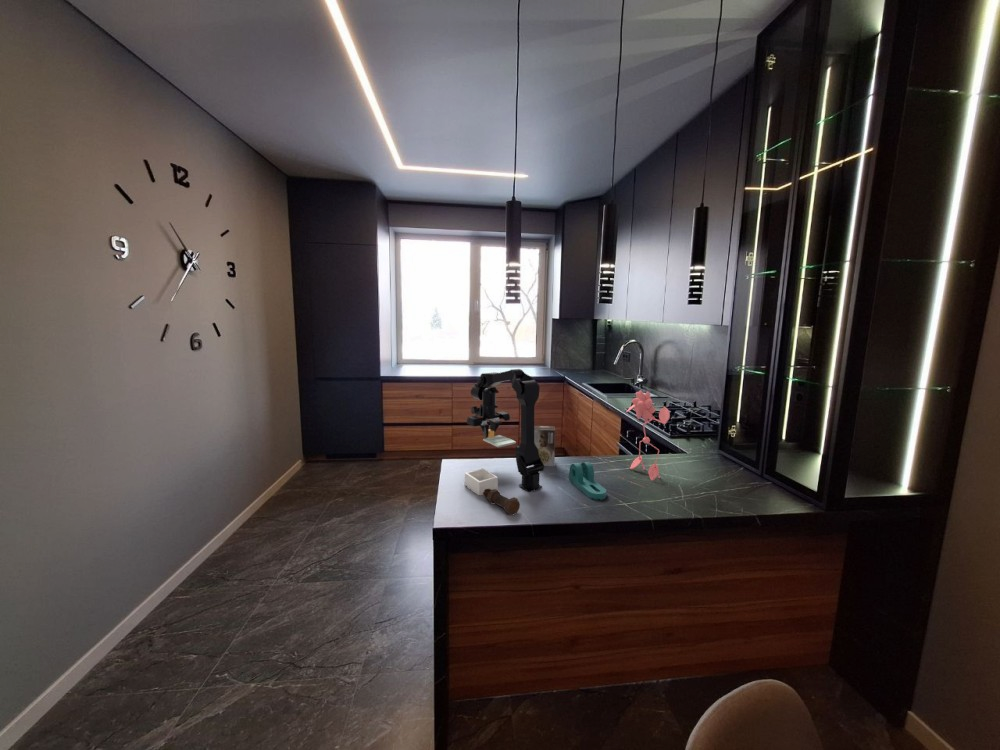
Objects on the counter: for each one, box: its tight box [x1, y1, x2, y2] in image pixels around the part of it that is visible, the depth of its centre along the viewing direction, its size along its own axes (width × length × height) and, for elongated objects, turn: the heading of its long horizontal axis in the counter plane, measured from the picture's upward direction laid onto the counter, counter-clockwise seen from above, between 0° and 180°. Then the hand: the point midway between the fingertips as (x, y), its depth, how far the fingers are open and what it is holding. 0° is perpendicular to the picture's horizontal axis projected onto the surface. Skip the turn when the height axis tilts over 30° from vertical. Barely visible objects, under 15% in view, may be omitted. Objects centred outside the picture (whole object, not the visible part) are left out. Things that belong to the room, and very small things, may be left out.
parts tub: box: [464, 468, 499, 496], centre depth 144 cm, size 10×8×5 cm
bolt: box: [482, 489, 521, 516], centre depth 131 cm, size 6×5×15 cm
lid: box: [482, 428, 517, 448], centre depth 162 cm, size 15×9×3 cm, turn 36°
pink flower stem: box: [621, 389, 671, 487], centre depth 155 cm, size 15×26×35 cm, turn 17°
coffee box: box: [532, 425, 556, 467], centre depth 168 cm, size 9×6×16 cm
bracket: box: [568, 461, 607, 500], centre depth 145 cm, size 18×7×8 cm, turn 16°
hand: (488, 438), depth 166 cm, fingers closed on lid, 2 cm apart
